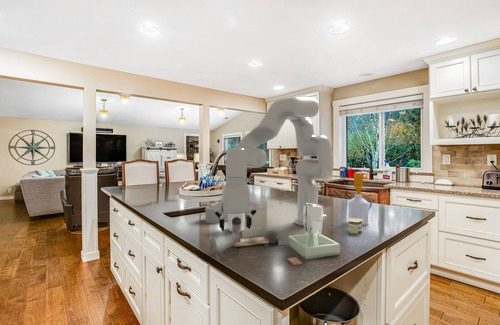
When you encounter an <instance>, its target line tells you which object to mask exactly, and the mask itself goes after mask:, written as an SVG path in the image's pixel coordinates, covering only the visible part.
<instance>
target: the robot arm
mask: <svg viewBox="0 0 500 325" xmlns="http://www.w3.org/2000/svg"><path fill="white" fill-rule="evenodd" d="M319 109H320V104H319V103H318V100H317V99H316V98H314V97H311V96H309V97H307V96H305V97H301V96H299V97H298V96H294V97H287V98H281V99H278V100H275V101H274V102H272V103H271V105H270V106H269V108H268V110H267V112H266V113H265V114H264V116H263V118H262V120H261V121H260V122H259V124H258V125H257V126H255V127H254V128H253V129H252V130H251V131H249V132H248V133H247V134H246V135H245V136H244V137H243V138H242V139H241V140H240V141H239V143H238V144H237V145H236V147H229V148H227V149H226V154H225V159H226V160H225V184H224V185H223V187H222V192H221V199H220V200H221V201H220V202H218V204H216V205H214V206H212V209H213V211H214V213H215V215H216V216H217V217H219V223H218V225H219V226H218V227H219V228H220V230H221V231H222V232H224V231H225V223H224V217H225V215H226V214H238V213H245V215H246V216H245V227H246V228H247V229H249V230H250V229H251V226H252V223H253V222H252V221H253V220H252V218H253V217H254V216H255V214H256V213H257V211H258V209H259V207H260V205H259V204H257V203H255V202H253V201H252V200H251V197H250V196H251V195H250V188H249V185H248V183H251V178H248V176H247V174H248V172H247V171H248V168H253V169H257V168H262V167H263V166H265V164H266V163H267V161H268V155H267V153H266V151H265V150H263V149H262V148H259V146H260V145H262V144H265V143H266V142H269V141H271V140H273V139H274V138H276V137H277V136H278V134H279V133H280V131H281V129H282V127H283V125H284V124H285V122H286V120H288V121H290V123H291V124H292V125H293V127H294V129H295V130H294V131H295V132H294V133H295V140H296V148H297V153H298V155H300V156H302V157H317V158H302V159H300V160H298V161H297V162H296V165H295V170H296V177H297V218H295V219H294V224H295V225H298V226H302V227H304V222H303V210H304V204H306V203H317V204H319V203H318V202H319V201H318V200H319V197H318V196H319V195H318V193H319V187H318V184H317V182H316V180H328V179H330V178H331V177H332V175H333V170H334V169H333V166H334V165H333V154H332V144H331V141H330V139H329V138H328V137H327V136H325V135H315V131H314V125H313V122H312V120H311V119H310V118H314V117H316V116H317V115H318V113H319ZM251 206H252V207H253V208H252V209H251ZM219 207H221V210H222V212H221V213H219V212H218V211H217V208H219ZM250 210H251V211H250ZM325 219H327V215H326V214H323V220H325Z"/></svg>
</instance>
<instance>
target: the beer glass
mask: <svg viewBox="0 0 500 325" xmlns="http://www.w3.org/2000/svg"><path fill="white" fill-rule="evenodd" d="M323 215H324V205H323V204H322V203H321V204H320V203H318V204H317V203H306V204H304V210H303V222H304V226H303V227H304V234H305V243H304V245H305V246H306V247H311V246H319V245H321V234H322V231H323V225H324V219H323Z"/></svg>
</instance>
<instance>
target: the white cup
mask: <svg viewBox="0 0 500 325" xmlns="http://www.w3.org/2000/svg"><path fill="white" fill-rule="evenodd" d="M245 215H246V213H238V214H228V222H227V223H228V231H230V232H232V219H233V218H234V217H239V218H240V219H241V232H242V231H244V230H245V221H246V216H245Z"/></svg>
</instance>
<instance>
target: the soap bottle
mask: <svg viewBox="0 0 500 325" xmlns="http://www.w3.org/2000/svg"><path fill="white" fill-rule="evenodd" d="M353 179H354V180H353V188H354V189H355V190H356V192H354V197H353V198H351V199H350V200H348V207H347V208H348V212H347V213H348V214H347V219H348V220H347V222H348V223H349V218H358V219H363V221H362V222H363V224H362V226H367V225H369V202H368V201H367V200H366V199H365V198H363V193H362V192H361V191H362V189H364V173H362V172H361V173H356V172H354V174H353Z"/></svg>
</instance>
